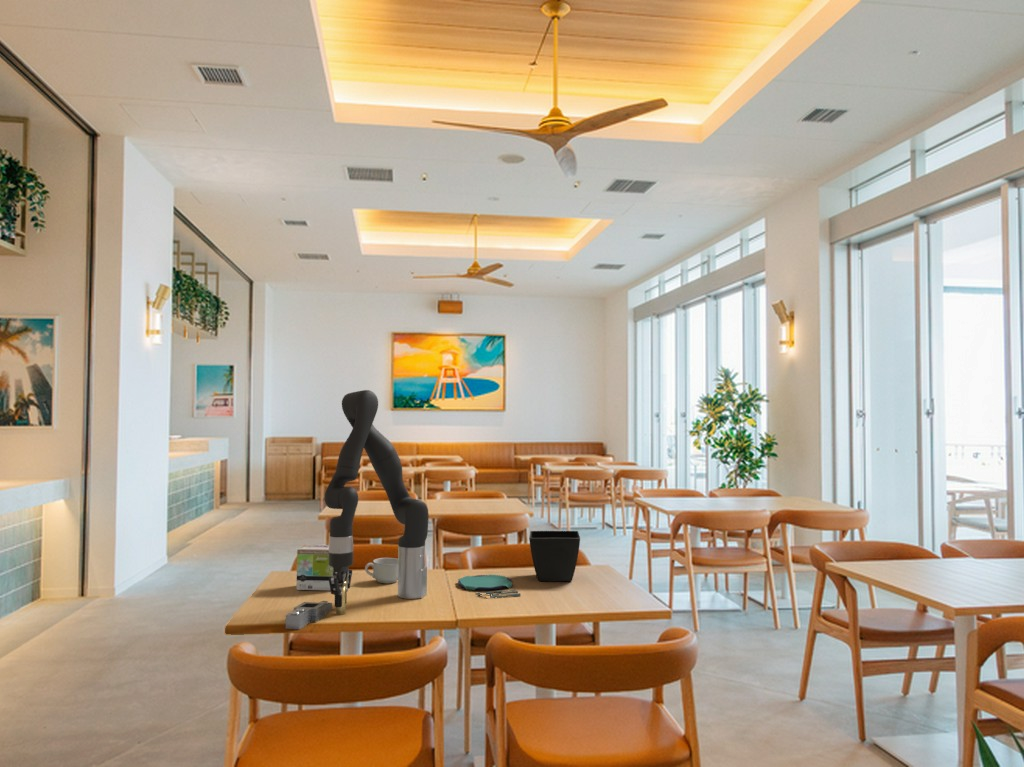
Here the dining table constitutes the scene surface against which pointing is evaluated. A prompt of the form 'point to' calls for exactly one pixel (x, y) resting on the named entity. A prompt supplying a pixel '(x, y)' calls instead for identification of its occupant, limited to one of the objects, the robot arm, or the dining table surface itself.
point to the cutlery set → (487, 584)
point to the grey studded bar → (307, 614)
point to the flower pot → (554, 554)
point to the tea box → (313, 568)
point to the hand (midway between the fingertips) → (340, 605)
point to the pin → (341, 609)
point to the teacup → (384, 570)
